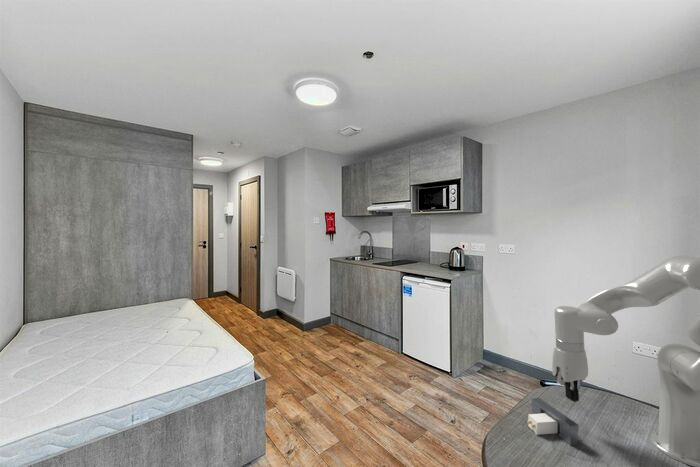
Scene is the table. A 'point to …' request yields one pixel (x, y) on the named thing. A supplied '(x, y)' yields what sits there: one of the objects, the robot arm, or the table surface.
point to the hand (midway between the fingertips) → (572, 399)
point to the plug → (543, 423)
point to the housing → (566, 425)
